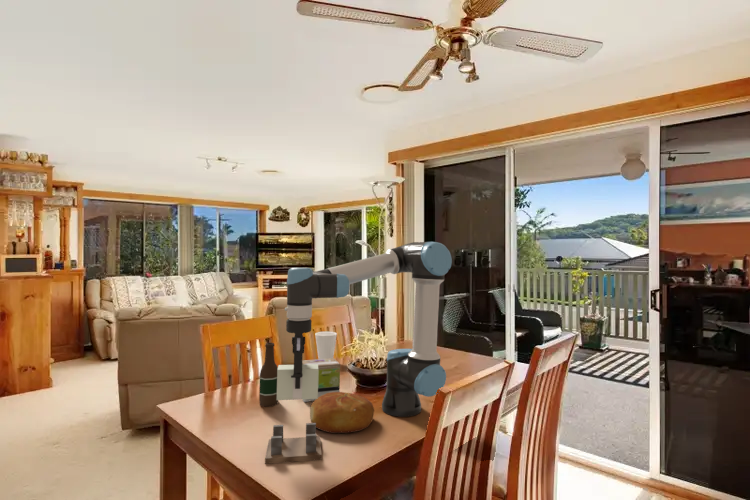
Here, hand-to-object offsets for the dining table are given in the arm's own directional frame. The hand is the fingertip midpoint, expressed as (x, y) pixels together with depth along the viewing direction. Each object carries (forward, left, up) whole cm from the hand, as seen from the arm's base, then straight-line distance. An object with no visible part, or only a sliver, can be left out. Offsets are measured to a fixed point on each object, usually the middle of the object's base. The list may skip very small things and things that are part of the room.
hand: (297, 395), depth 124 cm
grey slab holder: (+1, 0, -17) cm, 17 cm away
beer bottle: (+12, -41, -17) cm, 46 cm away
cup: (-13, -97, -17) cm, 100 cm away
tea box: (-8, -46, -17) cm, 50 cm away
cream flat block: (0, 0, 0) cm, 0 cm away
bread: (-15, -19, -18) cm, 30 cm away
